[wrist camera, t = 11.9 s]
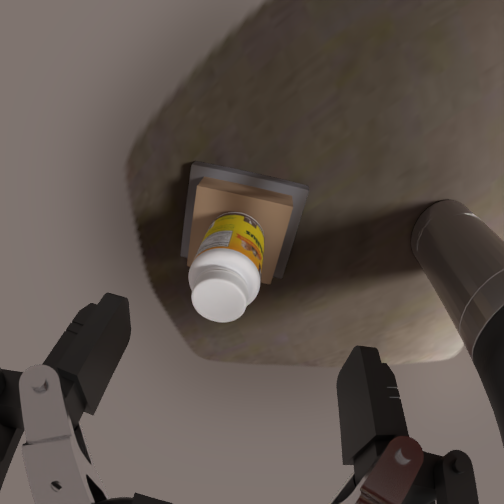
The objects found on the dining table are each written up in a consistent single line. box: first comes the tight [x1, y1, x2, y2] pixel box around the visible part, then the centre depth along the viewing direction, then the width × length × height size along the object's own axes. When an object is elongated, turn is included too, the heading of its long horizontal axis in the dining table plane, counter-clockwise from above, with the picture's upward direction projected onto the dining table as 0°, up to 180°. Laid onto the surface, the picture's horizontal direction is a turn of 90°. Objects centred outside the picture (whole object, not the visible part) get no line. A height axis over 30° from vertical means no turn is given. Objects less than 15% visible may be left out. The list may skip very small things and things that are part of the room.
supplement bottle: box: [188, 212, 265, 322], centre depth 26 cm, size 6×6×10 cm
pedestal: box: [180, 161, 309, 285], centre depth 33 cm, size 12×11×4 cm
